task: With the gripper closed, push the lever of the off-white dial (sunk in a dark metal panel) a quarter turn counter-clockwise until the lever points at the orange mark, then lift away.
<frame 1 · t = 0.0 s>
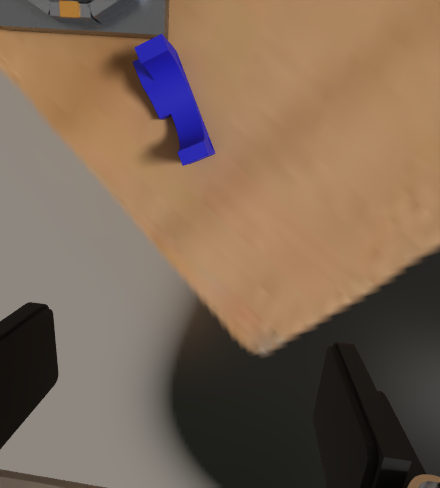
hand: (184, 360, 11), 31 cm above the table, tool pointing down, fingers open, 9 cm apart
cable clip: (180, 112, 38), on the table
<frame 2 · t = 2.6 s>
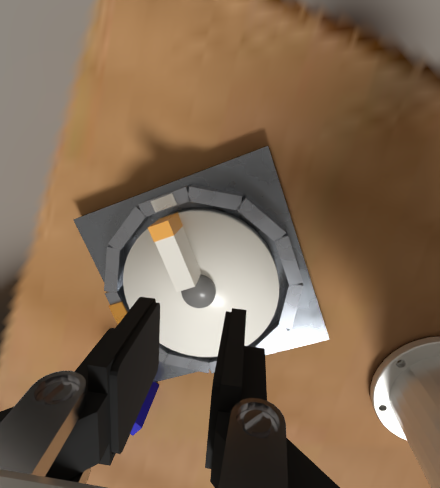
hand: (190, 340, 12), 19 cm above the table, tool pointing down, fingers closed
dial: (197, 292, 28), point 4 cm above the table, hinge at -90.0°
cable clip: (115, 399, 38), on the table
panel: (205, 274, 32), on the table
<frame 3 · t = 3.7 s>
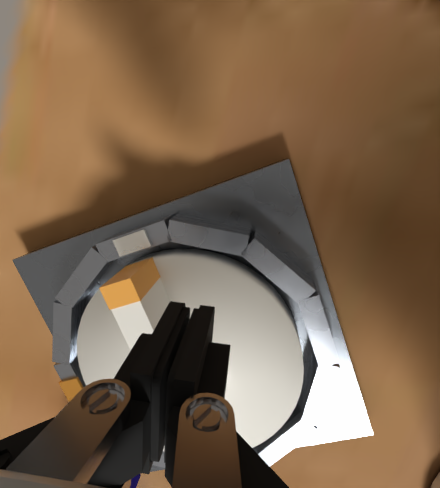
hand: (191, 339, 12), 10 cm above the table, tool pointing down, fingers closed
dial: (182, 373, 19), point 4 cm above the table, hinge at -90.0°
panel: (197, 335, 23), on the table
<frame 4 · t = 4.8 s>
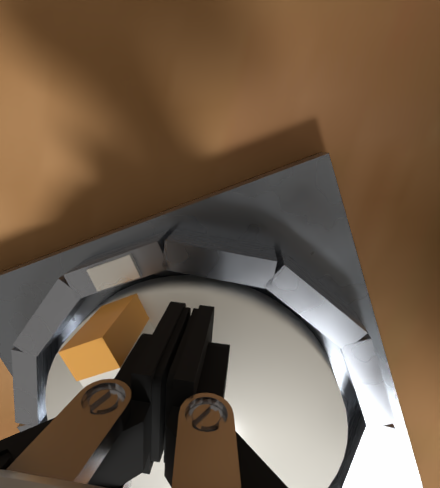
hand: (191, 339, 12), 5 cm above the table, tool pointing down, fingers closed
dial: (187, 441, 14), point 4 cm above the table, hinge at -87.8°, touching gripper
panel: (202, 376, 18), on the table
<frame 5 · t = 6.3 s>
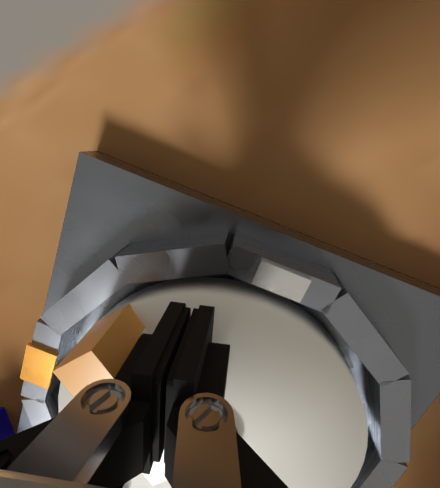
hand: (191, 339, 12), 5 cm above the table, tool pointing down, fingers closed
dial: (203, 447, 14), point 4 cm above the table, hinge at -36.8°, touching gripper
panel: (215, 379, 18), on the table
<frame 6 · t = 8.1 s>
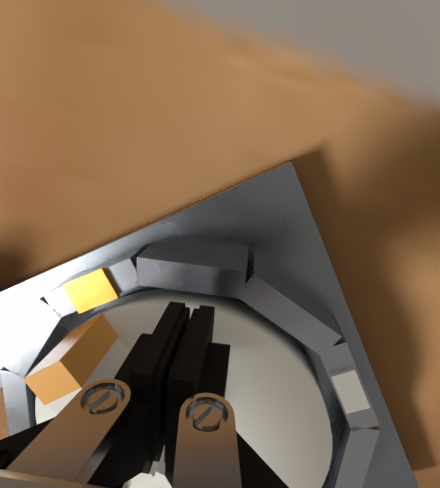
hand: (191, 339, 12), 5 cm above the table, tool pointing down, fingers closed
dial: (173, 453, 14), point 4 cm above the table, hinge at 6.5°
panel: (192, 386, 18), on the table
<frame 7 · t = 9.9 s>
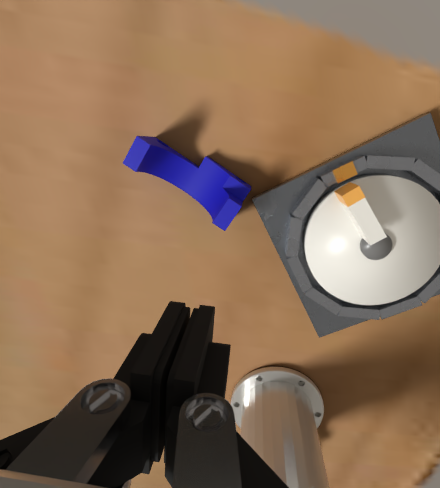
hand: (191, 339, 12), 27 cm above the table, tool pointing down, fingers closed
dial: (376, 246, 33), point 4 cm above the table, hinge at 6.5°
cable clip: (197, 172, 37), on the table
panel: (363, 235, 37), on the table
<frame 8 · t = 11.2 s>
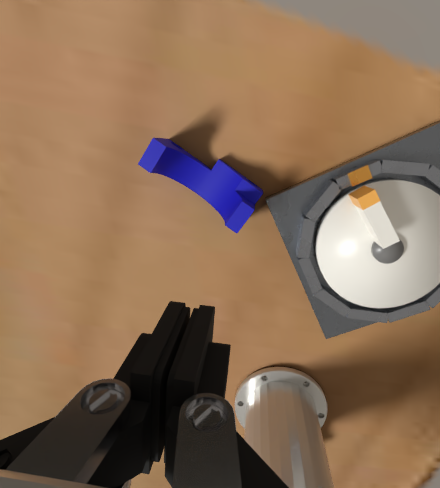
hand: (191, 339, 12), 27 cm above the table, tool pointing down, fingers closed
dial: (388, 249, 33), point 4 cm above the table, hinge at 6.5°
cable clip: (209, 175, 37), on the table
panel: (374, 238, 37), on the table
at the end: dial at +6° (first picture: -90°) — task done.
